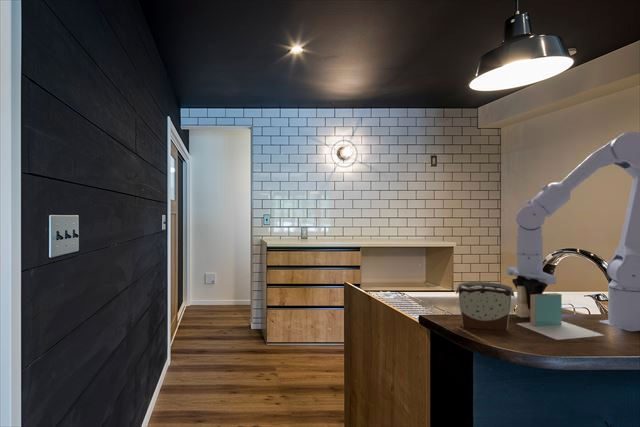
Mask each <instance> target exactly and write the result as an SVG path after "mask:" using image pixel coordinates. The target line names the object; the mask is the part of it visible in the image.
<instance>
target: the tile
mask: <svg viewBox="0 0 640 427" xmlns="http://www.w3.org/2000/svg"><path fill="white" fill-rule="evenodd" d="M562 296H563V295H562V294H561V293H557V292H551V293H550V292H549V293H542V294H532V295H530V317H529V319H530V321H529V322H530V325H532V326H535V327H539V326H551V325H562V321H563V319H562V313H563V312H562V310H563V308H562V306H563V305H562V299H563V298H562Z"/></svg>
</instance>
